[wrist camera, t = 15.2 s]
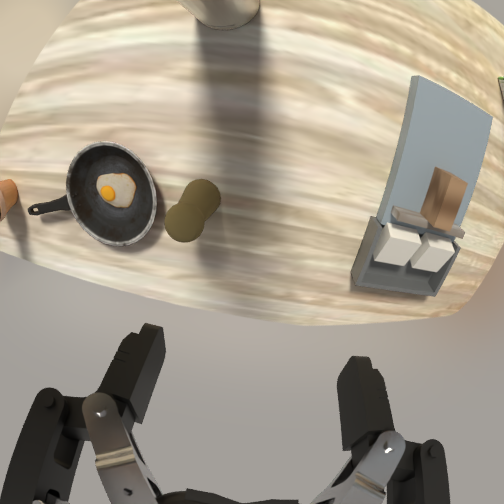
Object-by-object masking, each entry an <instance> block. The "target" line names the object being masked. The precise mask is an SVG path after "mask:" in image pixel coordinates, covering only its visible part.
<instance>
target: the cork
mask: <svg viewBox="0 0 504 504" xmlns="http://www.w3.org/2000/svg"><path fill="white" fill-rule="evenodd" d="M220 200H221V197H220V192H219V190H218V188H217V187H216V186H215V185H214V184H213V183H211V182H210V181H208V180H203V179H199V180H194V181H192V182H190V183H189V184H188V185H187V187H186V189H185V191H184V193H183V195H182V197H181V199H180V201H179V203H178V204H176V205H174V206H172V207H171V208H170V209H169V210H168V212H167V214H166V216H165V222H164V225H165V229H166V231H167V233H168V234H169V236H170V237H172V238H173V239H174V240H176V241H179V242H191V241H193V240H195V239H196V238H198V237H199V236H200V234H201V233H202V231H203V229H204V222H205V221H206V220H207V219H208V218H209V217H210V216H211V215H212V214H213V212H214V211H215V210H216V209H217V208H218V206H219V205H220Z"/></svg>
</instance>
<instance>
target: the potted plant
mask: <svg viewBox="0 0 504 504" xmlns="http://www.w3.org/2000/svg"><path fill="white" fill-rule="evenodd" d="M17 199H18V191H17V187H16V185H15V183H14V182H13V181H12V180H11V179H8V180H4V181H0V222H1V221H2V220H3V219H4V218H5V215H6V213H7V212H8V211H9V210H10V208H11V207H12V206H13V205H14V204H15V203H16V202H17Z"/></svg>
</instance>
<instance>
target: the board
mask: <svg viewBox="0 0 504 504" xmlns="http://www.w3.org/2000/svg"><path fill="white" fill-rule="evenodd" d="M492 119H493V117H492V116H491V115H489V114H488V113H486V112H485V111H483V110H482V109H480V108H478V107H477V106H475V105H474V104H472V103H470V102H469V101H467V100H465V99H464V98H462V97H460V96H458V95H457V94H455V93H453V92H451V91H449V90H448V89H446V88H444V87H442V86H440V85H438V84H436V83H434V82H432V81H430V80H428V79H426V78H424V77H421V76H412V78H411V84H410V90H409V95H408V100H407V106H406V110H405V115H404V120H403V124H402V129H401V133H400V137H399V141H398V145H397V149H396V153H395V157H394V160H393V164H392V168H391V171H390V175H389V178H388V182H387V185H386V188H385V191H384V195H383V198H382V201H381V204H380V207H379V210H378V213H377V216H376V218H377V219H378V221H379V222H380V224H383V225H386V223H387V222H388V223H392V224H396V225H400V226H404V227H408V228H412V229H416V230H417V231H418V233H420V234H423V235H424V233H425V232H427V233H431V234H435V235H438V236H442V237H446V238H449V239H450V240H451V242H454V240H455V236H452V235H448V234H445V233H441V232H438V231H434V230H431V229H427V228H423V227H420V226H416V225H412V224H408V223H404V222H401V221H397V219H396V218H395V217H394V216H393V215H392V213H391V210H392V207H393V205H394V206H397V207H401V208H405V209H408V210H412V211H415V212H419V213H420V211H421V208H422V205H423V202H424V200H425V197H426V194H427V191H428V188H429V185H430V181H431V178H432V175H433V172H434V168H435V167H438V168H440V169H443V170H445V171H448V172H450V173H452V174H454V175H455V176H457V177H459V178H460V179H462V180H464V181H465V182H467V183H468V185H467V188H466V191H465V194H464V196H463V199H462V202H461V205H460V208H459V210H458V213H457V215H456V218H455V220H454V224H457V225H458V226H459V227H460V226H461V223H462V221H463V218H464V216H465V213H466V210H467V208H468V205H469V202H470V200H471V197H472V194H473V191H474V188H475V185H476V182H477V179H478V175H479V172H480V169H481V165H482V162H483V158H484V154H485V150H486V146H487V142H488V138H489V133H490V129H491V124H492Z"/></svg>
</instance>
